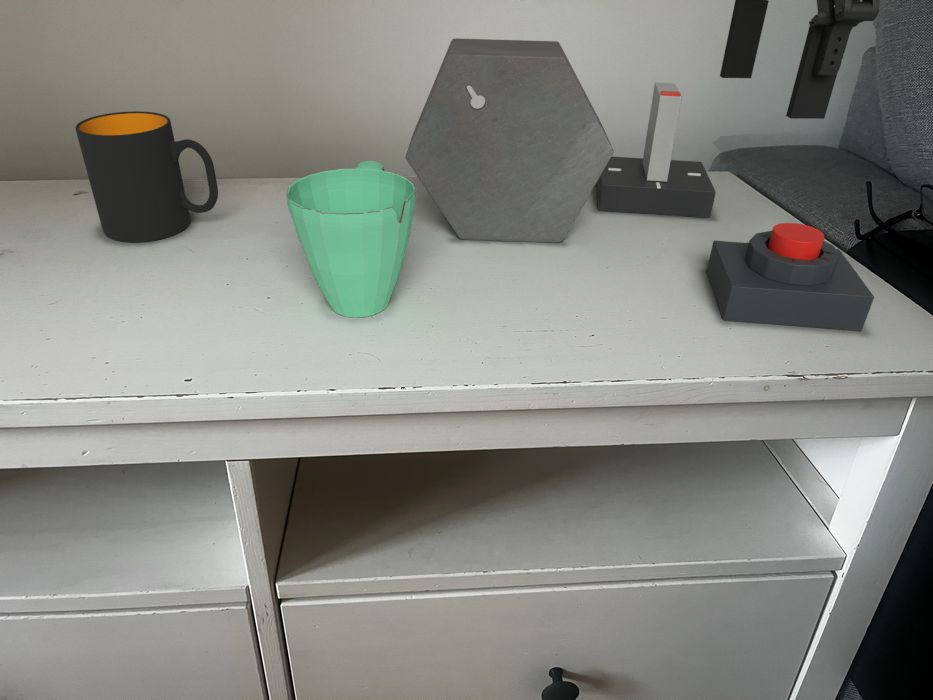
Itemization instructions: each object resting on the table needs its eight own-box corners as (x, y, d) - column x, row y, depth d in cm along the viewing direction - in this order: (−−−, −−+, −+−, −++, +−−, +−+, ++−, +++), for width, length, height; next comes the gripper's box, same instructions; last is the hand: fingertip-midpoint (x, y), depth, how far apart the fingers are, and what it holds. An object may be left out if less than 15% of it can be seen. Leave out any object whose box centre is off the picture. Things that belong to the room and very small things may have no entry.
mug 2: (411, 335, 56) (408, 216, 51) (287, 331, 57) (271, 211, 51) (427, 255, 69) (426, 151, 63) (324, 251, 69) (315, 148, 64)
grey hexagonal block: (627, 172, 76) (530, -14, 66) (639, 199, 69) (533, -3, 60) (488, 249, 81) (381, 87, 72) (488, 281, 74) (370, 107, 65)
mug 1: (210, 245, 70) (190, 138, 64) (87, 241, 70) (57, 134, 64) (236, 212, 76) (220, 113, 71) (125, 208, 77) (100, 109, 71)
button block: (828, 280, 66) (845, 230, 63) (861, 331, 59) (882, 276, 56) (706, 272, 67) (717, 221, 64) (723, 320, 60) (737, 266, 57)
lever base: (696, 185, 87) (701, 160, 85) (710, 218, 78) (716, 190, 76) (596, 179, 88) (599, 154, 86) (598, 211, 79) (602, 183, 77)
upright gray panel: (642, 163, 84) (655, 80, 79) (661, 164, 84) (675, 81, 79) (646, 180, 79) (660, 93, 74) (667, 181, 79) (682, 94, 74)
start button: (810, 243, 62) (816, 224, 61) (824, 263, 58) (831, 243, 58) (763, 240, 62) (768, 221, 61) (773, 260, 59) (779, 240, 58)
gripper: (722, -207, 60) (676, 64, 71) (898, -254, 39) (792, 139, 50) (809, -203, 60) (749, 64, 72) (1028, -248, 39) (893, 139, 51)
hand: (766, 96), depth 61 cm, fingers open, 13 cm apart
